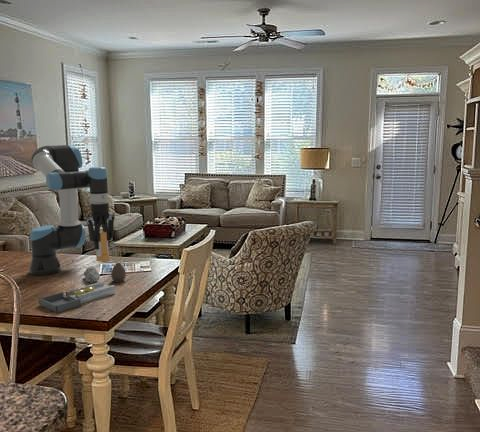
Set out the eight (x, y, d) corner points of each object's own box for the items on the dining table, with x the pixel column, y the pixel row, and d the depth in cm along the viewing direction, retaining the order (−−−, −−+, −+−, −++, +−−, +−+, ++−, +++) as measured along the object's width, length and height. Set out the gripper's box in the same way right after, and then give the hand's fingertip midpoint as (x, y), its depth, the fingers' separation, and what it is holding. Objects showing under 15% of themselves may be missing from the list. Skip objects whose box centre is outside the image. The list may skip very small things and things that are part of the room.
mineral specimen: (103, 284, 223) (102, 270, 222) (87, 287, 220) (86, 273, 219) (99, 276, 237) (98, 262, 236) (84, 278, 234) (83, 264, 233)
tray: (39, 305, 196) (38, 298, 196) (63, 298, 204) (62, 291, 204) (56, 313, 187) (56, 306, 187) (81, 305, 195) (80, 298, 195)
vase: (113, 278, 232) (113, 261, 230) (127, 278, 232) (127, 261, 230) (109, 283, 225) (108, 265, 224) (124, 283, 225) (123, 265, 223)
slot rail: (66, 299, 203) (65, 291, 203) (102, 288, 217) (101, 281, 216) (78, 304, 197) (78, 296, 196) (115, 293, 210) (114, 285, 210)
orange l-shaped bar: (96, 260, 210) (94, 232, 208) (102, 259, 212) (100, 230, 210) (103, 262, 206) (102, 233, 204) (109, 261, 209) (108, 232, 207)
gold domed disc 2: (83, 292, 206) (83, 288, 206) (91, 290, 209) (91, 285, 208) (88, 294, 203) (88, 289, 203) (96, 291, 206) (96, 287, 206)
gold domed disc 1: (73, 295, 202) (73, 290, 202) (82, 292, 205) (81, 288, 205) (79, 297, 200) (78, 292, 200) (87, 294, 203) (87, 290, 203)
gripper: (88, 205, 197) (91, 260, 201) (120, 201, 209) (123, 253, 213) (78, 204, 201) (81, 257, 205) (110, 200, 214) (113, 250, 217)
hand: (102, 255), depth 209 cm, fingers closed on orange l-shaped bar, 3 cm apart
